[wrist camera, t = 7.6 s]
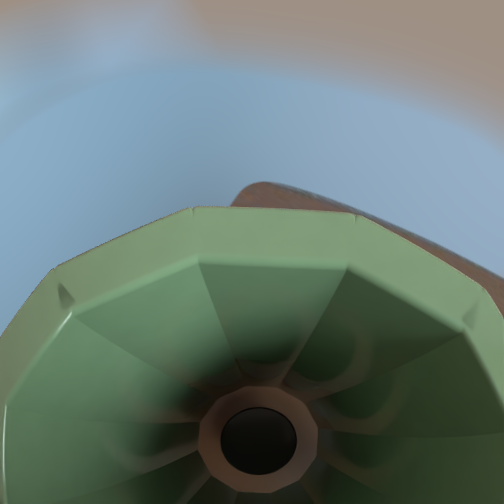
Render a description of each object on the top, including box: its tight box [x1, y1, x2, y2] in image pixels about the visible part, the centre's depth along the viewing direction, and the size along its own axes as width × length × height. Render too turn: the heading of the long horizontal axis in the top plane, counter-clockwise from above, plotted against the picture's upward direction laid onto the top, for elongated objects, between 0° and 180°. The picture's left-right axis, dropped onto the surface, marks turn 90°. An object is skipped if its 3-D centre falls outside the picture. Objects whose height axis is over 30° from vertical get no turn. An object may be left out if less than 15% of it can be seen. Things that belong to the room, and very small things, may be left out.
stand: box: [198, 386, 318, 493], centre depth 13 cm, size 10×10×6 cm
